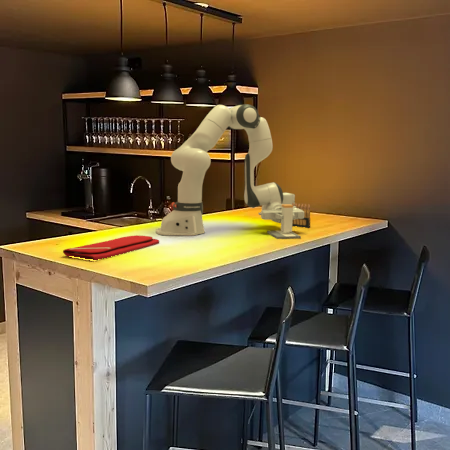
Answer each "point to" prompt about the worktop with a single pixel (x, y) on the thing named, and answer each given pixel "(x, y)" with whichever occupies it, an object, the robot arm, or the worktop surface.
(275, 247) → the worktop surface
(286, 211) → the orange-capped beige pillar
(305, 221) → the ammunition clip
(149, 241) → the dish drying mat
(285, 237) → the board
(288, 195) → the supplement box
